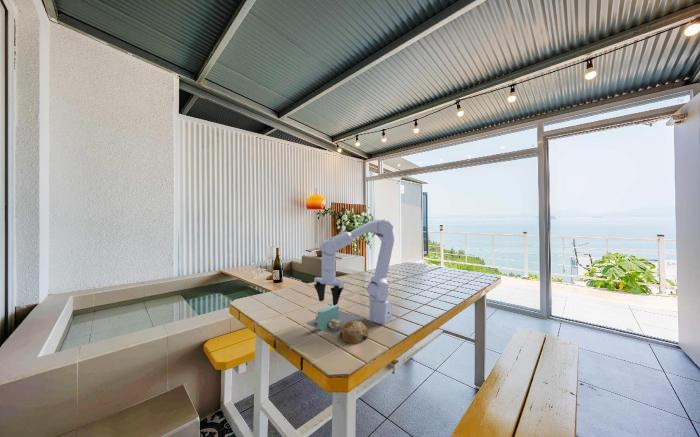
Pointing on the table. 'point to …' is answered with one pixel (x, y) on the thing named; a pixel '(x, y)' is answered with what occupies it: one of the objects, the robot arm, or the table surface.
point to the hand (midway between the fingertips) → (328, 302)
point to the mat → (343, 318)
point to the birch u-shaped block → (332, 324)
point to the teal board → (327, 316)
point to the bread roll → (354, 332)
